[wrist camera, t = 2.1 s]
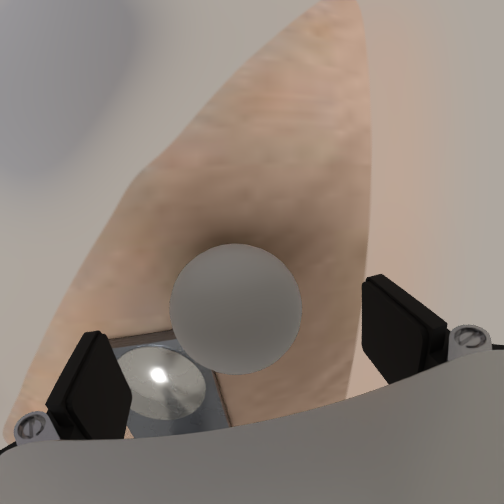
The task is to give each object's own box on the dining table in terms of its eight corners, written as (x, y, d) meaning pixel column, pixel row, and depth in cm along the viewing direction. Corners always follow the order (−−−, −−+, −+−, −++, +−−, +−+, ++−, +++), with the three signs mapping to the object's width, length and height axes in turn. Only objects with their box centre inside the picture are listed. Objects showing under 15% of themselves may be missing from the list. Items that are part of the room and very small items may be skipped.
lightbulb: (270, 216, 22) (327, 264, 11) (268, 298, 23) (311, 395, 13) (180, 217, 21) (154, 269, 11) (184, 301, 23) (171, 404, 12)
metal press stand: (241, 457, 28) (258, 553, 17) (160, 466, 27) (155, 558, 16) (201, 324, 23) (201, 448, 12) (94, 341, 23) (40, 450, 11)
